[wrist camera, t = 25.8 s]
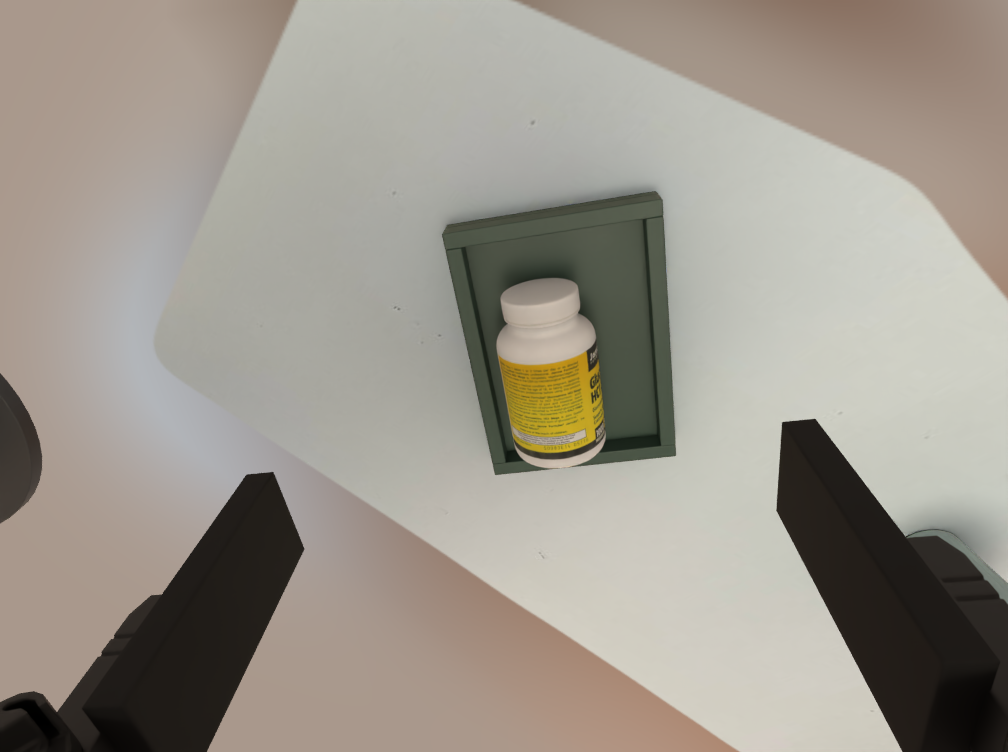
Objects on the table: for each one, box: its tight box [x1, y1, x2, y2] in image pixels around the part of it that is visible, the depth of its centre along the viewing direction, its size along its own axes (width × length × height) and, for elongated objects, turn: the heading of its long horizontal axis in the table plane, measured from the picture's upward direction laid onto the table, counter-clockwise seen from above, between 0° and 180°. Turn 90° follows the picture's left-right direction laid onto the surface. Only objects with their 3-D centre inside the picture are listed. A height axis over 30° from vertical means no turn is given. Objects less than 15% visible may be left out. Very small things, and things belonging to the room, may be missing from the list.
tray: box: [442, 191, 676, 475], centre depth 40 cm, size 18×13×2 cm
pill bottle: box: [496, 278, 606, 468], centre depth 38 cm, size 6×6×11 cm
